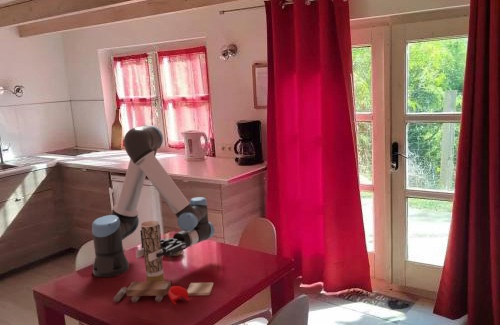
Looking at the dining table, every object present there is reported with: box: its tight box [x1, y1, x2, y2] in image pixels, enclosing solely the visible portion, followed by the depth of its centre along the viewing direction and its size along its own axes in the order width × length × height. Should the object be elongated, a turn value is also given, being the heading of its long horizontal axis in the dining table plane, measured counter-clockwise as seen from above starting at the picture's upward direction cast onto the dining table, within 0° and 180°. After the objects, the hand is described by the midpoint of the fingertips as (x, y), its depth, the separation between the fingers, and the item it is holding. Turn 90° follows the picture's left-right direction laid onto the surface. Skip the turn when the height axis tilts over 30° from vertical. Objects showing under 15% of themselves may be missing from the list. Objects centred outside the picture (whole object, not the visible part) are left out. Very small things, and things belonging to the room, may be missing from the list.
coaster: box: [186, 281, 214, 297], centre depth 180 cm, size 9×9×1 cm
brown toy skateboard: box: [113, 280, 172, 303], centre depth 177 cm, size 20×8×5 cm, turn 85°
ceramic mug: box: [162, 237, 184, 257], centre depth 221 cm, size 11×8×8 cm
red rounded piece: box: [167, 285, 190, 306], centre depth 171 cm, size 8×6×6 cm
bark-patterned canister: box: [140, 220, 165, 282], centre depth 187 cm, size 7×7×25 cm
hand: (142, 256), depth 184 cm, fingers closed on bark-patterned canister, 7 cm apart
